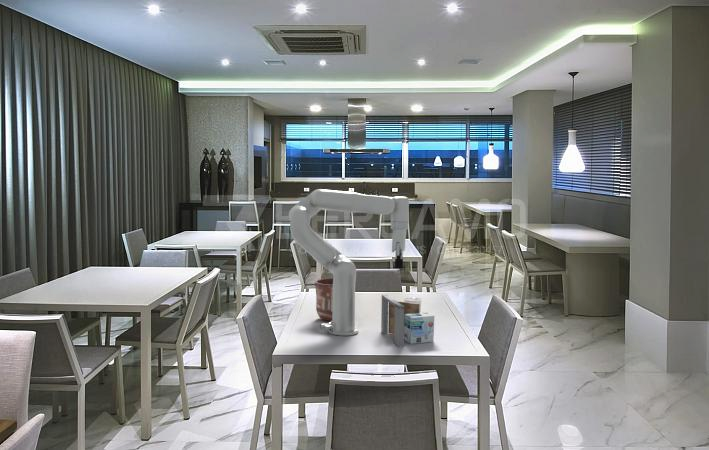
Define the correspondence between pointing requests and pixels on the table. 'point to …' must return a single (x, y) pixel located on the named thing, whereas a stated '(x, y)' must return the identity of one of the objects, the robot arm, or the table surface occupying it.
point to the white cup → (413, 300)
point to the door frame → (398, 319)
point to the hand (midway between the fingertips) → (398, 268)
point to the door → (408, 309)
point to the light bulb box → (419, 328)
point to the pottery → (324, 298)
